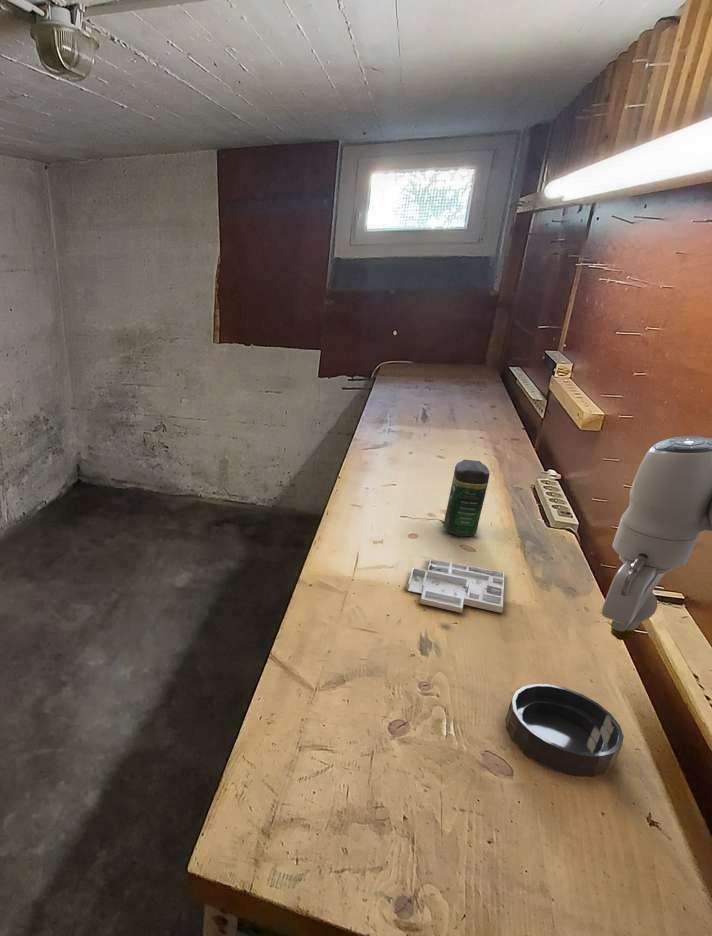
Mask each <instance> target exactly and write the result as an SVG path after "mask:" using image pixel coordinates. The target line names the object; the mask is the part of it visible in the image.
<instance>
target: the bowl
mask: <svg viewBox="0 0 712 936" xmlns="http://www.w3.org/2000/svg"><path fill="white" fill-rule="evenodd" d="M504 720H505V727H506V729H505V730H506V731H507V733H508V735H509V737H510V739H511V740H512V742H513V743H514V744H515V746H517V747H518V748H519V749H520V751H521V752H522V753H523V754H525V755H526V756H527V757H529V758H530V759H532V760H533V761H535V762H536V763H538V764H539V765H541V766H544V767H546V768H548V769H550V770H552V771H554V772H557V773H559V774H563V775H568V776H571V777H575V778H595V777H599V776H603V775H605V774H606V773H608V772H609V771H610V770H612V768H613V767H614V765H615V762H616V760H617V758H618V757H619V754H620V751H621V750H622V747H623V744H624V743H623V742H624V738H625V736H624V733H623V730H622V727H621V725H620V723H619V722H618V721H617V720H616V718H615V717H614V716H613V714H611V712H610V711H608V710H607V709H606V708H605V707H603V706H602V705H601V704H599V703H598V702H597V701H595V700H593V699H591V698H590V697H588V696H586V695H585V694H583V693H580V692H578V691H575V690H573V689H570V688H568V687H563V686H560V685H555V684H551V683H550V684H549V683H531V684H527V685H522V686H521V687H520V688H519V689H517V690H516V691H514V693H513V695H512V698H511V699H510V704H509V706H508V710H507V713H506V717H505V719H504Z"/></svg>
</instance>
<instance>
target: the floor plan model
mask: <svg viewBox="0 0 712 936" xmlns="http://www.w3.org/2000/svg"><path fill="white" fill-rule="evenodd" d="M406 591H409V592H413V593H418V594H421V596H420V602H419V603H420V604H421V605H425V606H430V607H434V608H438V609H443V610H447V611H452V612H456V613H460V614H462V613H463V610H464V609H463V608H464V605H465V606H470V607H473V608H477V609H482V610H487V611H492V612H496V613H500V614H502V613H503V610H504V592H505V571H504V572H503V571H498V570H493V569H488V568H483V567H479V566H478V567H477V566H475V565H474V566H473V565H469V564H459V563H454V562H450V561H446V560H445V561H444V560H439V559H435V558H430V559H429V563H428V568H427V569H423V568H419V567H418V568H417V567H412V569H411V571H410V575H409V579H408V582H407V588H406Z"/></svg>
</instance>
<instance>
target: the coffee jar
mask: <svg viewBox="0 0 712 936" xmlns="http://www.w3.org/2000/svg"><path fill="white" fill-rule="evenodd" d="M490 476H491V475H490V470H489V467H488V466H487V465H485V464H484V463H483V462H482V461H480V460H472V459H463V460H461V461H459V462H457V463H456V465H455V466H454V471H453V477H452V481H451V487H450V492H449V495H448V499H447V501H448V502H447V505H446V512H445V516H444V520H443V526H444V529H445V531H446V532H447V533H450V534H452V535H456V536H460V537H471V536H474V535H476V534H477V531H478V528H479V523H480V519H481V514H482V510H483V507H484V502H485V498H486V493H487V489H488V485H489V480H490Z"/></svg>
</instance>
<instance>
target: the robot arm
mask: <svg viewBox="0 0 712 936" xmlns="http://www.w3.org/2000/svg"><path fill="white" fill-rule="evenodd" d="M703 531H710V532H712V438H711V437H703V436H695V435H693V436H691V435H689V436H688V435H686V436H685V435H684V436H677V437H676V436H674V437H670V438H668V439H664V440H661V441H658V442H657V443H655V444H653V445H652V447H650V448H649V450H648V451H647V452H646V453H645V455H644V457H643V458H642V460H641V462H640V465H639V467H638V468H637V471H636V474H635V476H634V479H633V482H632V484H631V487H630V490H629V503H628V507H627V508H626V509H625V511H624V512H623V514H622V515H621V517H620V521H619V524H618V527H617V530H616V533H615V536H614V539H613V541H612V544H611V545H612V549H613V550H614V552H615V553H617V554H618V555H619V557H618V558H619V561H621V563H622V565H621V567H619V569H618V570H617V572H616V573H615V575H614V577H613V579H612V581H611V583H610V585H609V586H610V587H609V589H608V592H607V593H606V597H605V600H604V602H603V605H602V607H601V615H602V617H604V618H606V619H608V620H611V623H610V627H611V629H612V628H613V629H616V630H619V631H625V629H626V628H627V626H628V624H630V623H631V622H632V620H633V619H634V618H635V616H636V615H637V613H638V612H639V610H640V609H641V607H642V606H643V604H644V603H645V602H646V600H647V598H648V597H649V595H650V593H651V592H652V593H653V591H654V590H655V589H656V587H657V586H658V584H659V583H660V581H661V580H662V579H663V578H664V576H665V575H666V574H668V573H670V572H672V571H673V569H679V568H683V567H684V566H686V565H687V564H688V561H689V560H690V557H691V554H692V552H693V549H694V547H695V544H696V542H697V540H698V537H699V535H700V533H702V532H703ZM621 593H622V594H621Z"/></svg>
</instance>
